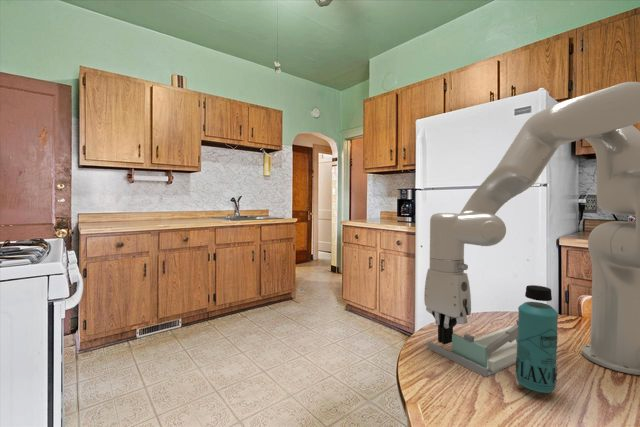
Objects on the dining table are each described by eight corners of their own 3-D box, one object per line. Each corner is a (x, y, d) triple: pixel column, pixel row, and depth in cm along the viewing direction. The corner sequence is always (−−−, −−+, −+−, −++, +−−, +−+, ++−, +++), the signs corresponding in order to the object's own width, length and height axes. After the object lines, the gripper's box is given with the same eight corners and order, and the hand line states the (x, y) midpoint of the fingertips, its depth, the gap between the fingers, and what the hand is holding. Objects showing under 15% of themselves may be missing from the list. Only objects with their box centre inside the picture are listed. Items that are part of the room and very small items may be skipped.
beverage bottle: (507, 385, 61) (509, 284, 61) (529, 378, 64) (531, 281, 63) (542, 405, 55) (545, 293, 55) (565, 396, 58) (568, 289, 57)
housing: (549, 347, 78) (550, 337, 78) (485, 377, 64) (486, 365, 64) (490, 327, 91) (490, 318, 91) (427, 348, 77) (427, 338, 77)
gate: (487, 370, 66) (488, 342, 66) (484, 371, 66) (484, 343, 66) (454, 354, 73) (454, 329, 73) (451, 355, 73) (451, 330, 73)
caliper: (521, 341, 80) (521, 316, 80) (525, 342, 79) (526, 318, 79) (471, 361, 70) (472, 333, 70) (476, 363, 69) (476, 335, 69)
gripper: (486, 269, 70) (484, 351, 70) (431, 259, 83) (430, 328, 83) (464, 273, 66) (463, 359, 67) (411, 261, 79) (410, 334, 79)
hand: (445, 341), depth 75 cm, fingers closed
